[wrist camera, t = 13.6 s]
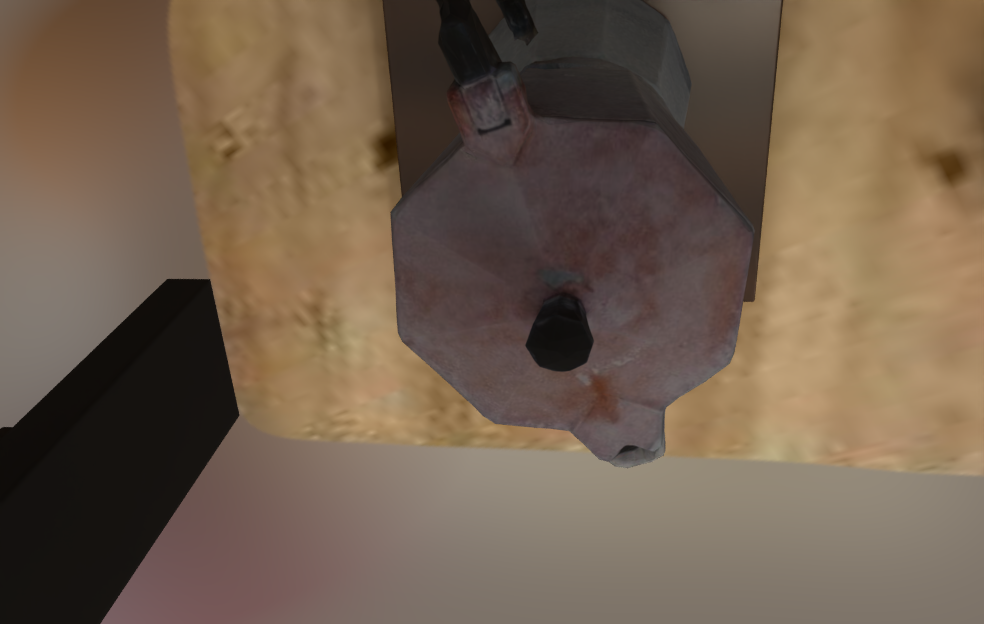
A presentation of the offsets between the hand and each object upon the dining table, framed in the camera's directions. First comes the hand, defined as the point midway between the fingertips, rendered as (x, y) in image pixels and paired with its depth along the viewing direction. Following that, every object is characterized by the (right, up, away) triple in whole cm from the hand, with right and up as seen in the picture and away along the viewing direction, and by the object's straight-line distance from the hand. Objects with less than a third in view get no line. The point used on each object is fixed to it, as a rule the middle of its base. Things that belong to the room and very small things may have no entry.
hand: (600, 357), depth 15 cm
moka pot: (+2, +10, +23) cm, 25 cm away
